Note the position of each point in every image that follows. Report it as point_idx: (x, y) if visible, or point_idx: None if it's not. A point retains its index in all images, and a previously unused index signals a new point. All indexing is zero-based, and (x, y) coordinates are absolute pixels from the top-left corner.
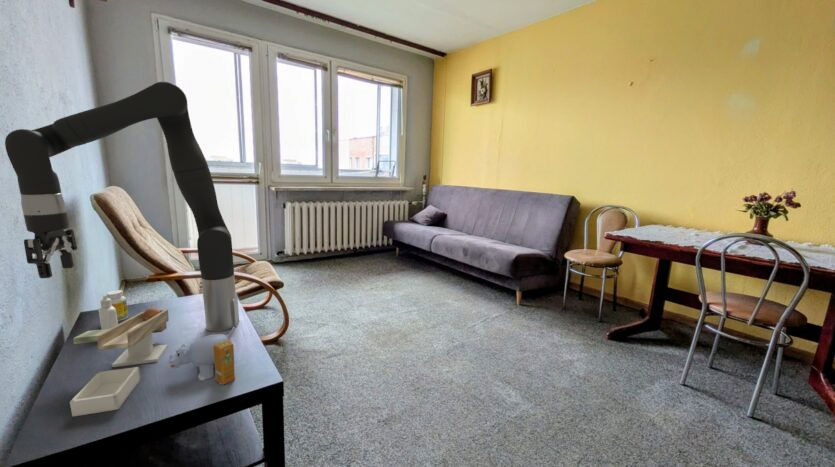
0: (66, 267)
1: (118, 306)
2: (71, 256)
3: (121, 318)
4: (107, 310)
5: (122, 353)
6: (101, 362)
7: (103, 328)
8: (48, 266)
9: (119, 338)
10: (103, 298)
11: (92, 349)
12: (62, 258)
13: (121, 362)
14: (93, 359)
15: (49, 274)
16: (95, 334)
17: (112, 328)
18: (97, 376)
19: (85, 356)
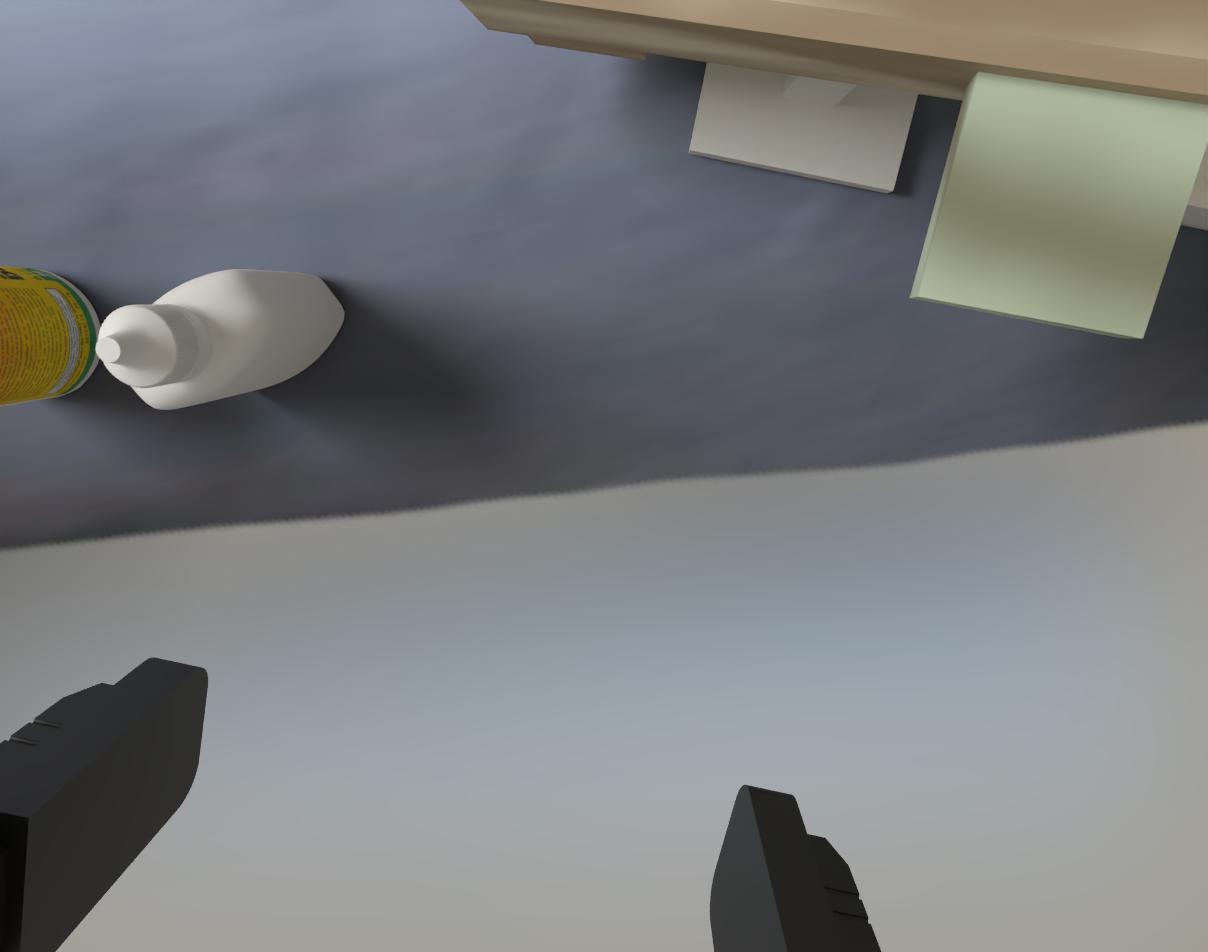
0: (192, 746)
1: (7, 309)
2: (21, 779)
3: (82, 301)
4: (252, 322)
5: (753, 160)
6: (777, 274)
7: (299, 364)
8: (832, 937)
9: (1131, 31)
10: (136, 360)
11: (547, 373)
12: (75, 904)
13: (893, 138)
14: (708, 330)
15: (802, 826)
16: (1132, 192)
17: (1115, 64)
18: (1197, 189)
19: (638, 386)
